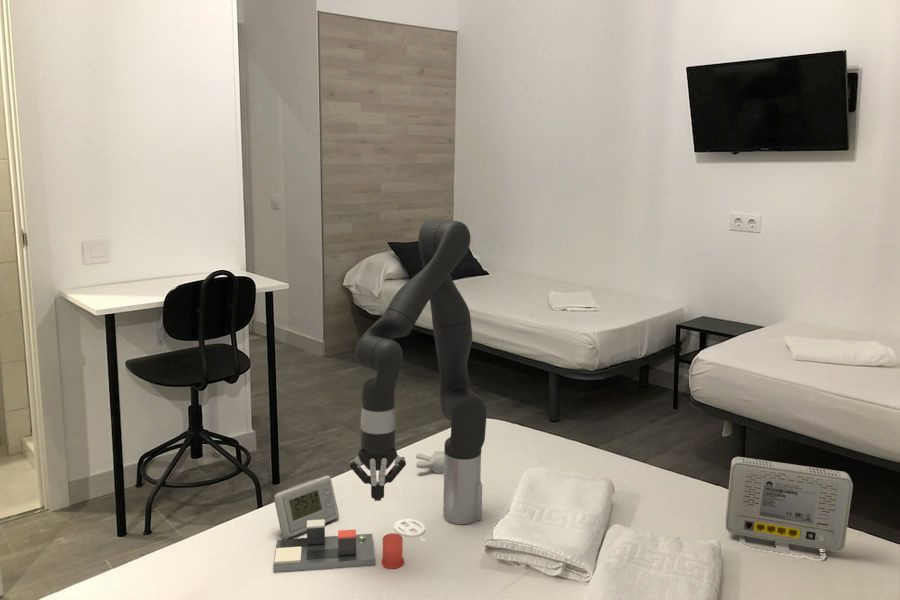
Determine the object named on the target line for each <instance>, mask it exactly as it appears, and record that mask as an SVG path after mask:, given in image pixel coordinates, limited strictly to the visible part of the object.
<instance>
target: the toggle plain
mask: <svg viewBox="0 0 900 600" xmlns="http://www.w3.org/2000/svg"><path fill="white" fill-rule="evenodd" d="M325 525H326V524H325V519H322V520H307V532H306V538H307V545H308V544H323V543H325V537H326V529H325V528H326V526H325Z"/></svg>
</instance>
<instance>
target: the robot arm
mask: <svg viewBox="0 0 900 600" xmlns="http://www.w3.org/2000/svg"><path fill="white" fill-rule="evenodd" d="M417 241H418V250H419V254H420V258H421V262H422V267H423V268H422V269H421V270H420V271H419V272H417V274H415V275H414V276H413V277H412V278H411V279H409V280H408V281H407V282H405V284H404V285H403V286H401V287H400V289H398V291H397V292H396V293H395V295H394V296H393V298H392V299H391V301H390V303H389V304H388V306H387V308H386V309H385V311H384V313H383V314H382V316H381V317H379V318H378V319H377V320H376V321H375V322H374V323H373V324H372V325H371V326H370V327H369V328H368V329H367V330H366V331H365V332H364V333H363V334H361V335H362V336H361V337H360V338H359V339H358V341H357V343H356V346H355V350H354V357H355V360H356V362H357V363H358V364H359V365H360V366H362V367H365V368H367V369H372V370H375V371H376V376H375V377H371V378H369V379H366V380H365V381H364V382H363V384H362V390H361V391H362V392H361V393H362V394H361V398H362V399H361V400H362V401H361V404H362V405H361V413H360V449H359V451H358V454H357V456H356V457H355V458H351V459H350V460H349V468H350V469H351V470H352V471H353V472H354V473H355V475H356V476H357V477H358V478H359V479H360V480H361V481H362V482H363V484H366V485H367V484H368V485H370V494H371V495H370V496H371V499H374V502H381V501H382V499H384V497H385V485H386V484H387V483H388V484H390V483H392V482H393V481H395V478H396V477H397V476H398V475H399V474H400V473H401V471H402V470H403V469H404V468H405V466H406V465H407V461H406V458H405V457H404V456H400V455H398V452H397V449H396V426H397V424H396V423H397V421H396V409H395V394H396V393H395V389H396V386H397V382H398V379H399V376H400V372H401V368H402V366H403V360H404V355H403V353H404V352H403V350H402V347H401V345H400V344H399V343H398V342H397V341H395V340H394V339H395V338H401V337H407V336H408V335H409V334H410V333H411V331H412V330H413V328H414V326H415V324H416V323H417V321H418V319H419V317H420V316H421V314H422V313H423V310H424V308H425V307H426V305H427V304H428V303H429V304H430V305H429V306H430V310H431V323H432V330H433V338H434V343H435V350H436V357H437V363H438V369H439V390H440V391H439V393H440V394H439V399H440V400H439V403H440V409H441V412H442V414H443V416H444V417H445V418H446V420H448V422H450V425H451V426H450V428H451V429H450V437H448V438H447V439H446V440H445V441H444V451H443V452H444V473H443V498H442V499H443V503H442V504H443V505H442V516H443V518H444V520H446V521H447V522H449V523H452V524H455V525H468V524H473V523H475V522H476V521H481V520H482V511H483V508H482V507H483V506H482V505H483V483H482V481H481V480H482V479H481V478H482V477H481V475H482V474H481V472H482V466H481V465H482V448H483V445H484V444H485V440H486V439H485V438H486V429H487V407H486V406H487V405H486V403H485V401H484V399H483V398H482V397H480V396H479V395H477V394H476V393H475V392H474V391H472V388H471V385H470V379H469V373H468V359H469V356H470V352H471V348H472V343H473V329H472V319H471V313H470V309H469V307H468V304H467V303H466V301H465V299H464V297H463V296H462V294H461V292H460V290H459V289H458V288H457V286H456V284H455V282H454V280H453V278H452V275H451V273H452V272H453V271H454V270H455V268H456V267H457V265H458V264H459V263H460V262H461V261H462V259H464V257H465V256H466V254H467V252H468V250H469V248H470V245H471V232H470V229H469V227H468V226H467V225H466V224H465V223H463V222H462V221H458V220H450V219H449V220H448V219H447V220H446V219H429V220H427V221H425V222H424V223H423V224H422V225H421V227H420V229H419V232H418V240H417ZM393 463H394V465H393V466H392V464H393ZM362 464H363V465H364V466H365V468H366V469H367V470H369V471H370V472H369V473H370V475H369V474H368V473H366V471H365V470H364V469H363V467H362ZM391 466H392V468H391V469H390V470H389V471H388V472H387V470H388V469H389V468H390V467H391ZM377 471H378V476H377ZM377 477H378V480H377Z"/></svg>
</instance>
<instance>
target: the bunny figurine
mask: <svg viewBox="0 0 900 600" xmlns="http://www.w3.org/2000/svg"><path fill="white" fill-rule="evenodd" d="M415 458H416V459H418V460H420V461H416V466H415V467H416V468H418V469H424V468H429V467H430V469H431V470H432V471H433V472H434V473H436V474H443V475H444V451H442V450H441V451H440V450H438V451H434V452H433V454H432V455H431V456H429V455H425V454H423V453H416V455H415ZM421 460H422V461H421Z"/></svg>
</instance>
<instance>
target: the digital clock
mask: <svg viewBox="0 0 900 600" xmlns="http://www.w3.org/2000/svg"><path fill="white" fill-rule="evenodd" d="M273 499H274V500H273V501H274V505H275V508H276V509H275V510H276V514H277V519H278V523H279V528H280V533H281V536H282V538H283V539H292V538H294V537H295V536H301V535H303V534H304V533H307V520H322V519H325V525H327V524H328V523H329V522H332V521H334V520H336V519H338V518H339V514H340V513H339V508H338V504H337V500H336V495H335V490H334V485H333V481H332V477H331V476H330V475H324V476H321V477H319V478H313V479H310V480H308V481H305V482H302V483H300V484H297V485H294V486H291V487H289V488H287V489H285V490H282V491H279V492H277V493H276V494H274V496H273Z"/></svg>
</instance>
